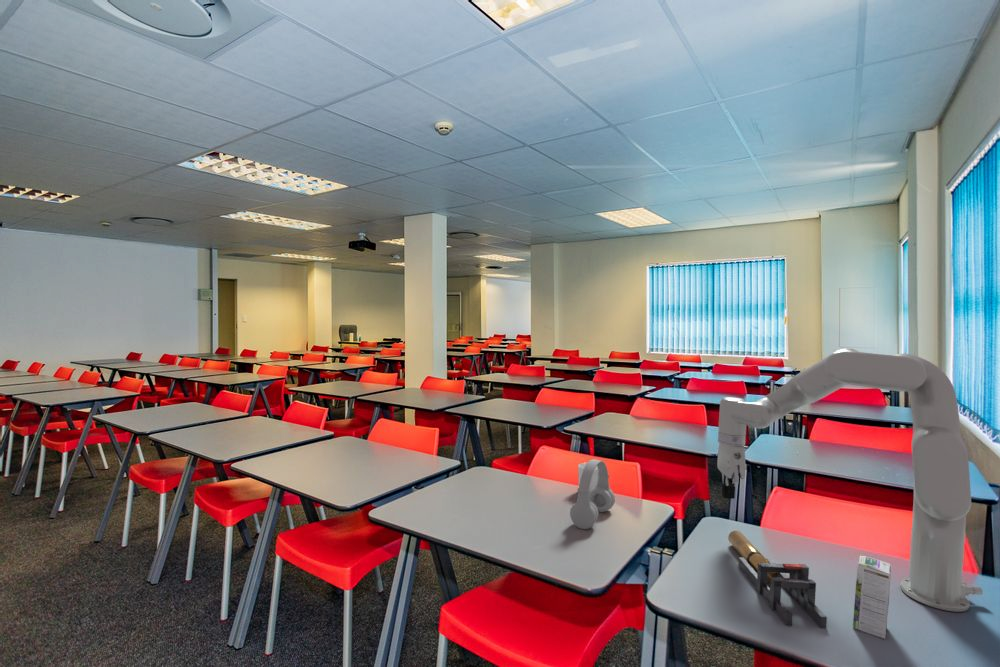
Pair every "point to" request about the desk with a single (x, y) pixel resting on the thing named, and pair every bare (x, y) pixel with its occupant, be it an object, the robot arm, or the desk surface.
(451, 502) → the desk surface
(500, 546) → the desk surface
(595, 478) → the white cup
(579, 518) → the headphones
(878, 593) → the syrup box
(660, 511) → the desk surface
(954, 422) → the robot arm
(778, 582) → the collar rig
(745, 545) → the tan cylindrical rod
